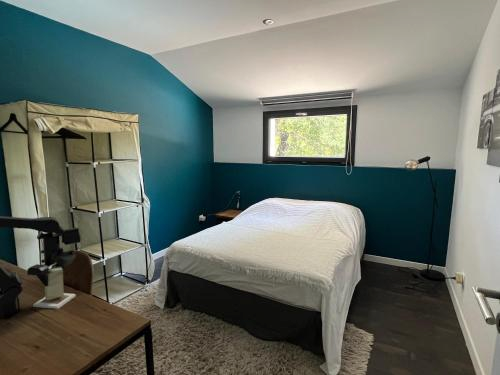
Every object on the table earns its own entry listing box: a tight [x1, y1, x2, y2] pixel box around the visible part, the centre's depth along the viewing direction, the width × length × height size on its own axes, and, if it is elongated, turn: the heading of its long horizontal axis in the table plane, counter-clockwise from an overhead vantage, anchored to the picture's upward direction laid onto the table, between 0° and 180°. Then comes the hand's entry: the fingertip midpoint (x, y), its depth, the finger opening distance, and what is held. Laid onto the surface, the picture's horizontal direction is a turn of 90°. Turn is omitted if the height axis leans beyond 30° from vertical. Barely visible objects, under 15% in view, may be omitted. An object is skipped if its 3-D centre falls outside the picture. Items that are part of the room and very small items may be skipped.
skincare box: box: [44, 266, 65, 300], centre depth 116 cm, size 6×4×12 cm
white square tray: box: [33, 292, 76, 310], centre depth 117 cm, size 10×11×1 cm
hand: (53, 281), depth 116 cm, fingers closed on skincare box, 7 cm apart
